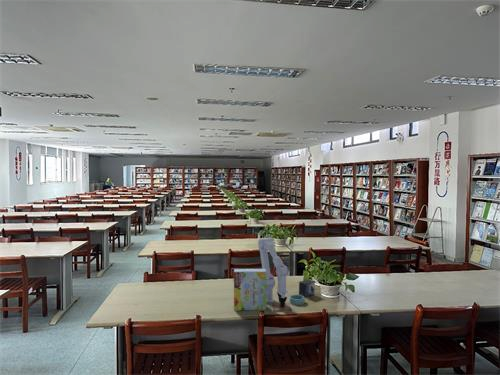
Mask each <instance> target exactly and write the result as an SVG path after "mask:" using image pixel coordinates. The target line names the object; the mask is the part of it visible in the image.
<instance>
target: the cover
mask: <svg viewBox="0 0 500 375" xmlns="http://www.w3.org/2000/svg"><path fill="white" fill-rule="evenodd" d="M271 304H272V308H273V311H274V312H273V313H283V312H282V311H292V309H293V308H292V309H291V307H292V305H291V306H290V302H288V303H286V302H285V306H284V307H281V306H280V303H279V302H278V303H277V302H276V303H274V302H271Z"/></svg>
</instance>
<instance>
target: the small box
mask: <svg viewBox="0 0 500 375" xmlns="http://www.w3.org/2000/svg"><path fill="white" fill-rule="evenodd" d="M315 282H316V281H314V280H312V279H304V280H300V281H298V295H301V296H304V298H308V297H312V296H315V285H316V284H315Z"/></svg>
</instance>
